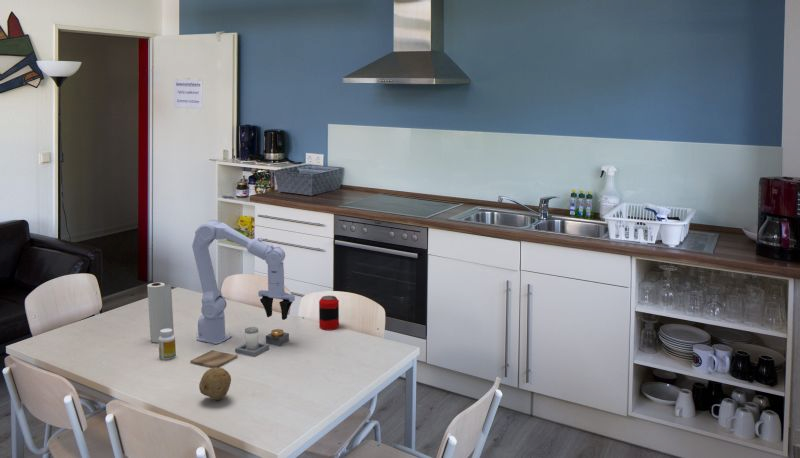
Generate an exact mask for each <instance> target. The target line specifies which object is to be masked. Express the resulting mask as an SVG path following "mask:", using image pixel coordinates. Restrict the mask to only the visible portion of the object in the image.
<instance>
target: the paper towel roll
mask: <svg viewBox="0 0 800 458" xmlns="http://www.w3.org/2000/svg"><path fill="white" fill-rule="evenodd" d="M146 286H147V301H148V315H149V316H148V317H149V318H148V319H149V321H148V322H149V335H150V336H149V337H150V342H151V343H157V344H159V341H158V339H159V337H160V336H161V335H160V330H162V329H172V332H173V334H172V335H174V336H175V331H174V313H173V312H174V311H173V296H172V295H173V294H172V284H171V283H170V284H169V283H168V284H166V283H163V282H152V283H149V284H147V285H146Z"/></svg>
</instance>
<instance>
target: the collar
mask: <svg viewBox="0 0 800 458" xmlns="http://www.w3.org/2000/svg"><path fill="white" fill-rule="evenodd" d="M258 348H259V349H257V350H255V351H251V350H246V342H245V343H243V344H241V345H239V346H238V347H236V348H234V353H235V354H240V355H245V356H250V357H254V358H255V357H256V356H259V355H260V354H262V353H265V352H266V351H267V350H270V344H266V343H261V342H258Z"/></svg>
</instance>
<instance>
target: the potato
mask: <svg viewBox="0 0 800 458" xmlns="http://www.w3.org/2000/svg"><path fill="white" fill-rule="evenodd" d="M231 381H232V376H231V374H230V373H229V371H227V370H226V369H224V368H223V367H219V368H217V367H215V368H211V367H210V368H209V369H207V370H206V371H205V372H204V373H203V375H202V376H201V378H200V381H199V383H198V384H199V385H198V387H199V392H200V393H201V394H202V395H203V396H205V397H206V396H207V397H209V398H211V399H212V400H214V401H220V400H222V399H223V398H225V396H226V395H227V394H228V392H229V390H230V387H231V383H232V382H231Z"/></svg>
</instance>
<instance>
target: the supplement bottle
mask: <svg viewBox="0 0 800 458" xmlns="http://www.w3.org/2000/svg"><path fill="white" fill-rule="evenodd" d="M172 334H173V332H172V329H162V330H160V335H161V336H160V337H159V339H158V341H159V343H158V355H159V359H160V360H165V361H166V360H173V359H174V358H176V356H177V353H176V352H177V351H176V337H175V334H174V335H172Z"/></svg>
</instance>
